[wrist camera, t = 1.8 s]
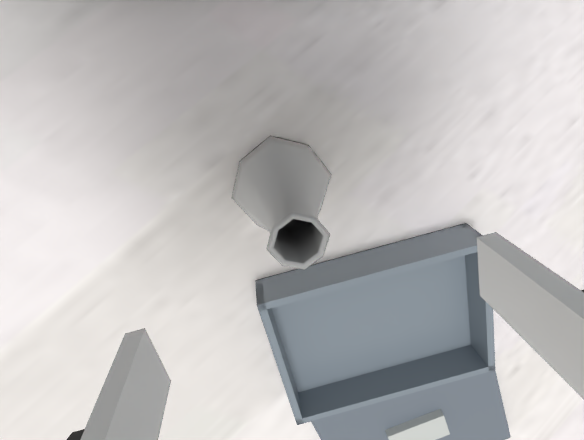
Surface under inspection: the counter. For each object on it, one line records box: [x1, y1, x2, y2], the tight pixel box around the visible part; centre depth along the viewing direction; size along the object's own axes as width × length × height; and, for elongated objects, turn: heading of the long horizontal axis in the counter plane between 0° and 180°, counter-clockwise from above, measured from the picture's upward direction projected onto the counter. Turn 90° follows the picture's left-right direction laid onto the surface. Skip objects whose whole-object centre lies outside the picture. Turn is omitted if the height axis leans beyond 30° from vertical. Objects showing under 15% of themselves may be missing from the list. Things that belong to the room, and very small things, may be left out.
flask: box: [232, 136, 331, 270], centre depth 25 cm, size 7×7×10 cm
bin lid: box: [311, 370, 510, 440], centre depth 41 cm, size 14×19×2 cm
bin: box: [256, 224, 495, 425], centre depth 34 cm, size 13×18×4 cm
